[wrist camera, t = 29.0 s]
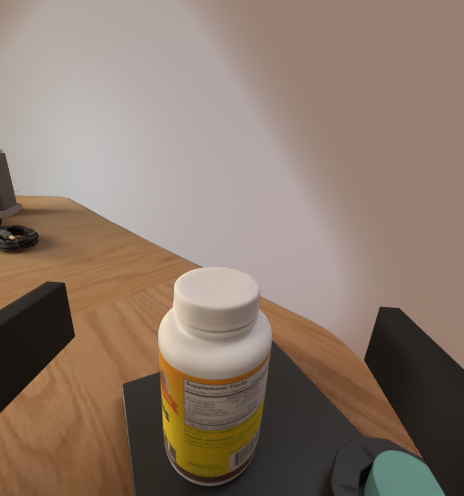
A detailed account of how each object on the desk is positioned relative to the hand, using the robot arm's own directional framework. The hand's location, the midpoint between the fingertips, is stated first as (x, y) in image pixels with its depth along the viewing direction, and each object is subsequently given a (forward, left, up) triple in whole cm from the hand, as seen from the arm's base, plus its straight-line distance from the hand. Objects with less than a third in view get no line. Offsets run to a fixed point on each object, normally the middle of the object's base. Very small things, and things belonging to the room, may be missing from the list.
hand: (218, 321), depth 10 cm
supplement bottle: (+1, -1, -9) cm, 9 cm away
